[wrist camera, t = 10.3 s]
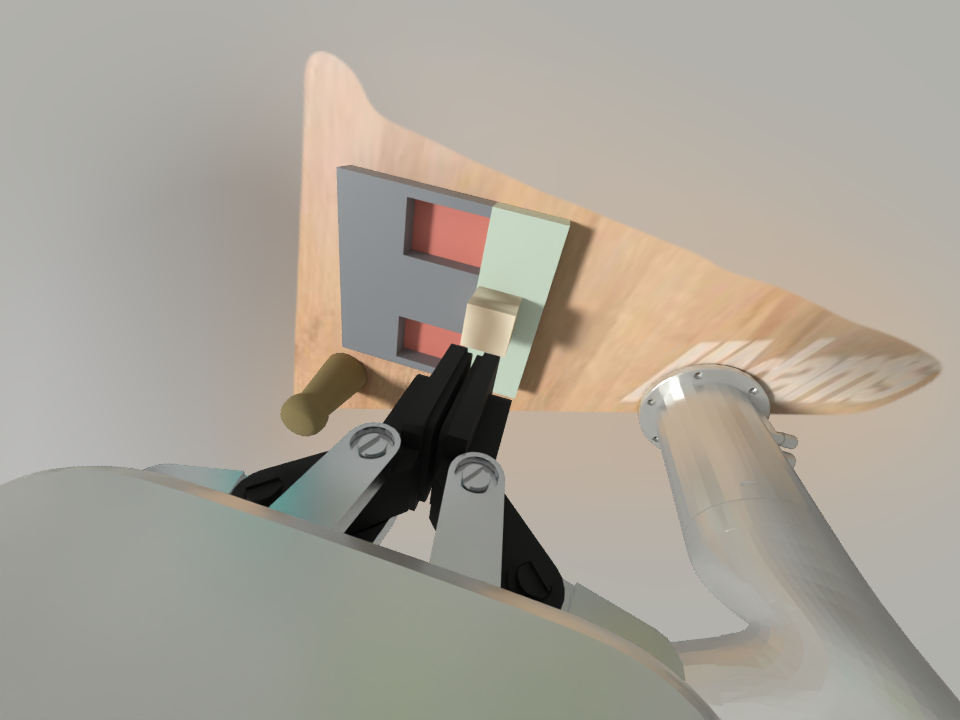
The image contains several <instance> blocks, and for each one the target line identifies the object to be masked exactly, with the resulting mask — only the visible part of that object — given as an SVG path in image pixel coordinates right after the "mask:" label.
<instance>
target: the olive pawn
mask: <svg viewBox="0 0 960 720" xmlns="http://www.w3.org/2000/svg"><path fill="white" fill-rule="evenodd" d="M366 382H367V374H366V371H365V369H364V367H363V366H362V364H361V363H360V362H359V361H358V360H357V359H355V358H354V357H352V356H350V355H347V354H344V353H336V354H333V355H331V356H330V358H329V359H328V360H327V361H326V362H325V364H324V365H323V366H322V367H321V369H320V370H319V371H318V373H317V374H316V375H315V376H314V378H313V379H312V380H311V381H310V383H309V384H308V385H307V387H306V388H305V389H304V390H303V392H302V393H299V394H296V395H294V396H292V397H290V398H289V399H288V400H287V401H286V402H285V403H284V404H283V406H282V409H281V414H280V415H281V419H282V421H283V423H284V424H285V425H286V427H287V428H288V429H290V430H291V431H292V432H294V433H296V434H298V435H301V436H311V435H314V434H317V433H318V432H320V431H321V430H322V429H323V428H324V427H325V425H326V423H327V421H328V417H329V416H328V415H330V414H331V413H332V412H333V411H334V410H336V409H337V408H338V407H339V406H340V405H342V404H343V403H344V402H345V401H346V400H348V399H349V398H350V397H351V396H352V395H354V394H355V393H356V392H357V391H358V390H360V389H361V388H362V387H363V386H364V385H365V384H366Z"/></svg>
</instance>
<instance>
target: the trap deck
mask: <svg viewBox="0 0 960 720" xmlns="http://www.w3.org/2000/svg"><path fill="white" fill-rule="evenodd" d="M337 194H338V224H339V254H340V285H341V315H342V345H343V347H345V348H348V349H351V350H355V351H358V352H361V353H365V354H368V355H371V356H375V357H378V358H381V359H385V360H388V361H391V362H395V363H398V364H401V365H405V366H408V367H411V368H415V369H418V370H421V371H425V372H428V373H431V374H432V373H433V371H434V370H435V368H436V367H437V365H438V363H439V362H440V360H441V359H442V357H443V356H444V354H445V353H446V351H447V349H448V348H449V346H450V345H451V344H456V345H460V342H461V337H462V331H463V325H464V319H465V314H466V308H467V303H468V301H469V300H470V298H471V297H472V295H473V294H474V292H475V291H476V289H477V288H478V286H482V287H485V288H489V289H493V290H497V291H500V292H504V293H508V294H512V295H515V296H519V297H522V301H521V305H520V308H519V312H518V316H517V320H516V323H515V327H514V331H513V335H512V338H511V341H510V344H509V347H508V350H507V353H506V356H505V358H504V357H501V356H500V362H499V366H498V371H497V375H496V379H495V384H494V388H493V392H494V393H498V394H501V395H504V396H508V397H511V398H514V399H515V397H516V393H517V390H518V387H519V384H520V381H521V378H522V375H523V371H524V368H525V365H526V362H527V359H528V356H529V353H530V350H531V346H532V343H533V340H534V337H535V334H536V331H537V328H538V325H539V321H540V318H541V315H542V312H543V309H544V306H545V303H546V299H547V296H548V293H549V290H550V287H551V284H552V281H553V278H554V274H555V271H556V268H557V265H558V262H559V259H560V256H561V253H562V249H563V246H564V243H565V240H566V237H567V234H568V231H569V227H570V221H571V220H567V219H563V218H559V217H555V216H551V215H547V214H543V213H539V212H535V211H531V210H527V209H523V208H519V207H515V206H511V205H507V204H503V203H499V202H495V201H491V200H488V199H484V198H480V197H476V196H472V195H468V194H464V193H460V192H456V191H452V190H448V189H444V188H440V187H436V186H432V185H428V184H424V183H420V182H416V181H412V180H408V179H404V178H400V177H396V176H392V175H388V174H384V173H380V172H376V171H372V170H368V169H364V168H360V167H356V166H352V165H348V166H341V167H337ZM460 346H462V345H460ZM464 347H465V346H464ZM467 348H468V352H469V353H473V357H472V363H471V366H472V364H473V362H474V360H475V358H476V356H477V355H481V356H483V354H484V352H483V351H479V350H476V349H472V348H469V347H467ZM486 353H487V352H486ZM493 355H494V354H493Z"/></svg>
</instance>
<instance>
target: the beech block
mask: <svg viewBox="0 0 960 720" xmlns="http://www.w3.org/2000/svg"><path fill="white" fill-rule="evenodd" d="M521 301H522V297H519V296H515V295H512V294H508V293H504V292H500V291H497V290H493V289H489V288H485V287H482V286H478V288H477V289H476V291H475V292H474V294H473V295H472V297H471V298H470V300H469V301H468V303H467V308H466V314H465V319H464V325H463V331H462V337H461V342H460V345H462V346H465V347H469V348H472V349H476V350H479V351H483V352H487V353H490V354H494V355H497V356H501V357H504V358H505V356H506V353H507V350H508V347H509V344H510V341H511V338H512V335H513V331H514V327H515V323H516V320H517V316H518V312H519V308H520V305H521Z"/></svg>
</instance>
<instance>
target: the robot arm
mask: <svg viewBox="0 0 960 720" xmlns="http://www.w3.org/2000/svg"><path fill="white" fill-rule="evenodd" d="M472 357H473V353H469V352H468V348H467V347H464V346H460V345H456V344H451V345H450V346H449V348H448V349H447V351H446V353H445V354H444V356H443V357H442V359H441V360H440V362H439V363H438V365H437V367H436V368H435V370H434V371H433V373H432V374H431V376H430V377H428V376H424V375H421V374H418V375H417V376H416V377H415V378H414V380H413V381H412V382H411V384H410V385H409V387H408V388H407V390H406V391H405V392H404V394H403V395H402V397H401V398H400V400H399V401H398V402H397V404H396V405H395V407H394V408H393V409H392V411H391V412H390V414H389V415H388V417H387V418H386V419H385V421H384V422H383V423H375V422H372V423H365V424H362V425H360V426H357V427H355V428H354V429H353V430H351V431H350V432H349V433H348V434H347V435H346V436H344V437H343V438H342V439H341V440H340V441H339V442H338V443H337V444H336V445H335V446H334V447H333V448H332V449H331V450H329V451H327V452H323V453H319V454H316V455H313V456H309V457H305V458H302V459H298V460H295V461H291V462H288V463H284V464H281V465H277V466H274V467H270V468H267V469H264V470H260V471H258V472H256V473H253V474H251V475H249V476H247V475H245V473H244V471H238V470H228V469H218V468H208V467H196V466H187V465H177V464H159V465H155V466H152V467H148V468H146V469H144V470H139V469H134V468H125V467H112V466H81V467H66V468H57V469H50V470H44V471H40V472H36V473H32V474H29V475H25V476H22V477H20V478H17V479H15V480H12V481H10V482H7V483H5V484H3V485H1V486H0V720H960V701H959V700H958V698H957V697H956V696H955V695H954V693H953V692H952V691H951V690H950V689H949V687H948V686H947V685H946V684H945V683H944V681H943V680H942V679H941V678H940V677H939V675H938V674H937V673H936V672H935V670H934V669H933V668H932V667H931V666H930V664H929V663H928V662H927V661H926V660H925V658H924V657H923V656H922V655H921V653H920V652H919V651H918V650H917V649H916V647H915V646H914V645H913V644H912V643H911V641H910V640H909V639H908V637H907V636H906V635H905V633H904V632H903V631H902V629H901V628H900V627H899V626H898V624H897V623H896V622H895V620H894V619H893V618H892V616H891V615H890V614H889V613H888V611H887V610H886V609H885V607H884V606H883V605H882V603H881V602H880V601H879V599H878V598H877V596H876V595H875V593H874V592H873V591H872V589H871V588H870V586H869V585H868V583H867V582H866V580H865V579H864V578H863V576H862V575H861V573H860V572H859V570H858V569H857V568H856V566H855V564H854V563H853V561H852V560H851V559H850V557H849V555H848V554H847V552H846V551H845V550H844V548H843V546H842V545H841V543H840V542H839V540H838V538H837V537H836V535H835V534H834V532H833V531H832V529H831V527H830V526H829V524H828V523H827V521H826V520H825V518H824V516H823V515H822V513H821V512H820V510H819V509H818V507H817V506H816V504H815V502H814V501H813V499H812V498H811V496H810V494H809V493H808V491H807V490H806V488H805V487H804V485H803V483H802V482H801V480H800V479H799V477H798V475H797V474H796V473H795V471H794V469H793V468H794V466H795V463H796V459H795V457H794V456H793V455H792V454H791V453H787V452H784V451H782V450H781V449H780V447H779V446H782V447H786V448H789V449H794V448H795V447H796V446H797V444H798V440H797V438H796V437H795V436H792V435H789V434H785V433H780V432H776V431H775V429H774V428H773V426H772V425H771V423H770V422H769V421H768V419H769V416H770V403H769V399H768V396H767V394H766V393H765V391H764V389H763V388H762V387H761V385H760V384H759V383H758V382H757V381H756V380H755V379H754V378H753V377H751V376H750V375H749V374H747V373H745V372H743V371H741V370H739V369H736V368H733V367H729V366H725V365H717V364H699V365H693V366H688V367H684V368H681V369H678V370H675V371H672V372H670V373H668V374H666V375H664V376H663V377H661V378H660V379H658V380H657V381H656V382H654V383H653V384H652V385H651V386H650V387H649V388H648V389H647V390H646V392H645V394H644V395H643V397H642V398H641V401H640V404H639V409H638V417H639V423H640V426H641V429H642V432H643V433H644V435H645V436H646V438H647V439H648V440H649V441H650V442H651V443H652V444H654V445H655V446H656V447H658V448H659V449H661V451H662V455H663V458H664V463H665V466H666V471H667V474H668V478H669V482H670V486H671V490H672V494H673V498H674V502H675V505H676V510H677V514H678V518H679V521H680V525H681V529H682V533H683V537H684V541H685V545H686V549H687V552H688V556H689V559H690V562H691V564H692V566H693V569H694V570H695V573H696V574H697V576H698V577H699V579H700V580H701V582H702V583H703V585H704V586H705V587H706V588H707V589H708V590H709V591H710V592H711V593H712V594H713V595H714V596H715V597H716V598H717V599H718V600H719V601H720V602H721V603H722V604H724V605H725V606H726V607H727V608H729V609H730V610H731V611H732V612H734V613H735V614H736V615H737V616H739V617H740V618H741V619H743V620H744V621H745V622H747V623H748V624H749V626H748V627H747V628H746V629H745V630H743V631H741V632H737V633H731V634H726V635H721V636H720V637H711V638H704V639H695V640H686V641H678V642H670V641H669V640H668V638H666V637H665V636H664V635H663V634H661V633H660V632H659V631H658V630H656V629H655V628H653V627H651V626H650V625H648V624H646V623H645V622H643V621H641V620H640V619H638V618H636V617H635V616H633V615H631V614H630V613H628V612H626V611H624V610H623V609H621V608H619V607H618V606H616V605H614V604H613V603H611V602H609V601H608V600H606V599H604V598H603V597H601V596H599V595H597V594H596V593H594V592H592V591H591V590H589V589H587V588H586V587H584V586H582V585H581V584H579V583H576V585H575V586H574V585H572V584H571V583H569V582H567V581H565V580H564V579H562V577H561V575H560V573H559V571H558V569H557V568H556V566H555V565H554V563H553V562H552V560H551V559H550V557H549V556H548V555H547V553H546V552H545V550H544V549H543V548H542V546H541V545H540V544H539V542H538V541H537V539H536V538H535V536H534V535H533V534H532V532H531V531H530V529H529V528H528V526H527V525H526V523H525V522H524V520H523V519H522V518H521V516H520V515H519V513H518V512H517V511H516V509H515V508H514V506H513V505H512V504H511V502H510V501H509V499H508V498H507V496H506V495H505V493H504V491H505V476H504V471H503V469H502V467H501V465H500V464H499V463H498V462H497V461H496V457H497V454H498V450H499V446H500V443H501V439H502V435H503V432H504V428H505V424H506V420H507V417H508V413H509V409H510V406H511V402H512V400H510V399H506V398H502V397H499V396H495V395H492V392H493V388H494V384H495V379H496V375H497V371H498V366H499V362H500V356H497V355H493V354H490V353H486V352H484V354H483V356H481V355H477V356H476V358H475V360H474V362H473V364H472V366H471V363H472ZM778 445H779V446H778ZM431 488H432V490H431ZM430 490H431V498H430V504H431V508H430V516H429V519H430V521H431V523H432V525H433V527H434V529H435V531H436V533H435V538H434V543H433V548H432V552H431V557H430V562H429V563H428V562H425V561H422V560H419V559H417V558H414V557H411V556H407V555H405V554H402V553H399V552H396V551H393V550H391V549H388V548H385V547H382V546H379V545H380V543H381V542H382V540H383V539H384V537H385V536H386V534H387V533H388V532H389V530H390V529H391V527H392V526H393V524H394V522H395V520H396V517H397V515H399V514H402V513H404V512H407V511H408V509H410V510H413V511H414V510H415V509H416V507H417V504H418V502H419V501H422V502H425V501H426V499H427V497H428V495H429V493H430Z"/></svg>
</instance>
